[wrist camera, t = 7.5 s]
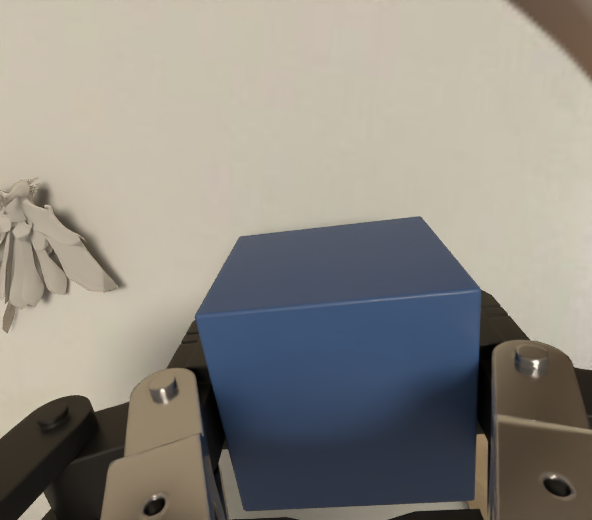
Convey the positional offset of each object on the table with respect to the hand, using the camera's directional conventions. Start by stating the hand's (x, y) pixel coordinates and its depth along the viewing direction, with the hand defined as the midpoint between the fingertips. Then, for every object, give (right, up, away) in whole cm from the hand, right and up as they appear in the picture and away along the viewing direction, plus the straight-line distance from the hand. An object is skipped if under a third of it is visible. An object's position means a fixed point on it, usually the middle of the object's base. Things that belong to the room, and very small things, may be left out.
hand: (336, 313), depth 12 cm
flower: (-12, +2, +5) cm, 13 cm away
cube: (0, 0, 0) cm, 0 cm away
